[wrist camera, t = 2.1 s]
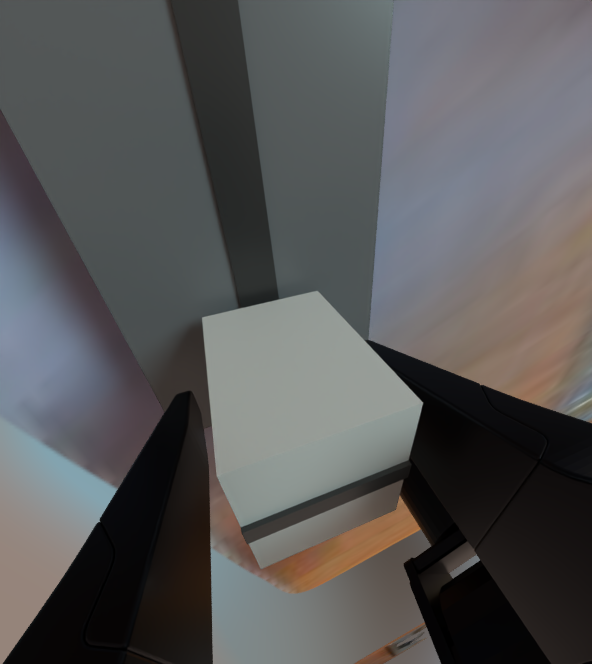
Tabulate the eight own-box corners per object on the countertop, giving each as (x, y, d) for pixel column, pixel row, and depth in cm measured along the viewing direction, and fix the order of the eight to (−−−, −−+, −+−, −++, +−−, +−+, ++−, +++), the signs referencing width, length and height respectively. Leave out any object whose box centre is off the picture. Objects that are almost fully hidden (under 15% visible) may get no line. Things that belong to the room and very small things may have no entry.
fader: (321, 383, 11) (398, 513, 7) (232, 410, 10) (261, 574, 6) (317, 290, 9) (427, 407, 5) (201, 317, 8) (217, 482, 4)
